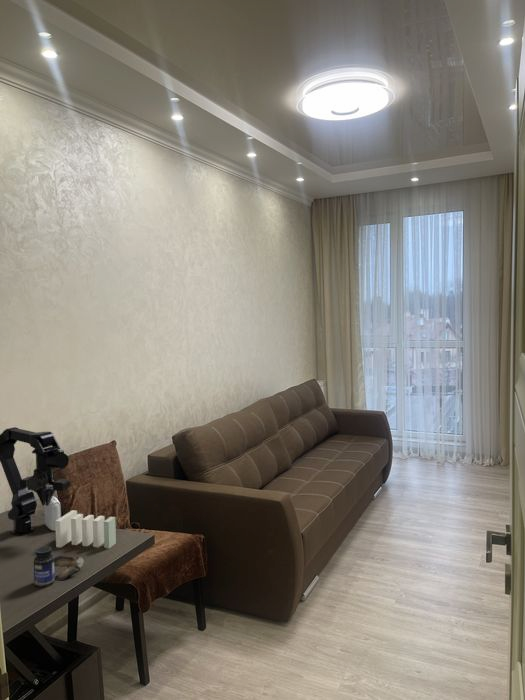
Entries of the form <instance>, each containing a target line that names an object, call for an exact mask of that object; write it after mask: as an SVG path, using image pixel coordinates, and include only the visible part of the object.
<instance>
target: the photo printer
mask: <svg viewBox="0 0 525 700" xmlns="http://www.w3.org/2000/svg"><path fill="white" fill-rule="evenodd" d="M43 507H44V522H45V523H44V525H45V526H46V527H47V528H48V529H49V530H50V531H52V532H56V526H55V521H56V520H57V519H59V518H61V517H62V508H61V507H62V506H61V502H60V500H58V498H57V497H56V496H54V495H53V496H52V498H51V501H50V503H49V505H48V506H46V502H45V505H44V506H43Z"/></svg>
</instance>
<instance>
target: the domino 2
mask: <svg viewBox="0 0 525 700" xmlns="http://www.w3.org/2000/svg"><path fill="white" fill-rule="evenodd" d="M83 518H84V513H77V515H76V516H74V517H73V518H71V539H72V540H71V545H72V546H77V545H79V544H81V542H82V519H83Z"/></svg>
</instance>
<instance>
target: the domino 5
mask: <svg viewBox="0 0 525 700" xmlns="http://www.w3.org/2000/svg"><path fill="white" fill-rule="evenodd" d="M116 524H117V523H116V517H115V516H109V517H108V518H106V519H105V521H104V543H103V547H104V549H110V548H112V547H113V546H114V545H115V544H116V543H117V534H116V533H117V531H116V529H117V528H116Z"/></svg>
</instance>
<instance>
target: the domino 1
mask: <svg viewBox="0 0 525 700" xmlns="http://www.w3.org/2000/svg"><path fill="white" fill-rule="evenodd" d="M77 514H78V510H76V509H75V510H74V509H72V510H70V511H69V512H67V513H66V514H64V515H63V516H62V515H61V518H59V519H57V520H56V521H55V526H56V531H55V546H56V548H63V547H64V546H66V545H67V544H68V543H70V542H72V539H71V518H73V517H74V516H76V515H77Z"/></svg>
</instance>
